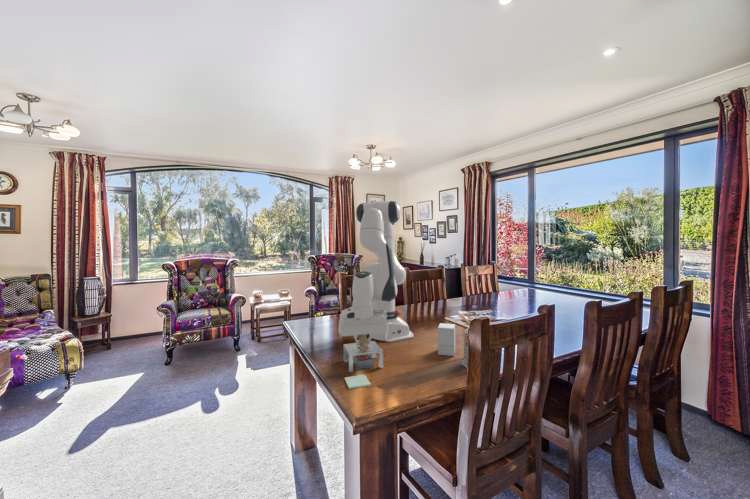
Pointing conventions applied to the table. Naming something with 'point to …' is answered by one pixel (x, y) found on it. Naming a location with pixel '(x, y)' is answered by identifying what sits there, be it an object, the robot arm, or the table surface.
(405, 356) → the table surface
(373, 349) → the box
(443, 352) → the supplement box
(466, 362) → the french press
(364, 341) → the dowel
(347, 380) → the coaster
